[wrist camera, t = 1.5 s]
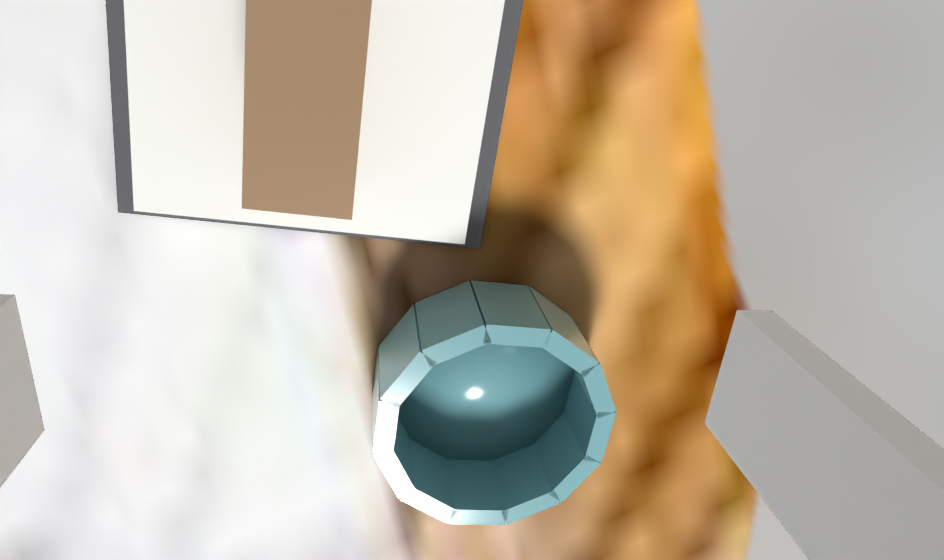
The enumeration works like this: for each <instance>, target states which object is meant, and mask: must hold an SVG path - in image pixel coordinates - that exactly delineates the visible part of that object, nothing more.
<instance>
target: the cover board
mask: <svg viewBox="0 0 944 560" xmlns="http://www.w3.org/2000/svg"><path fill="white" fill-rule="evenodd" d="M504 3H505V0H124V19H125V40H126V60H127V81H128V102H129V122H130V143H131V164H132V184H133V205H134V211H139V212H149V213H159V214H169V215H179V216H189V217H198V218H208V219H218V220H228V221H238V222H248V223H258V224H267V225H277V226H287V227H297V228H307V229H317V230H327V231H336V232H346V233H356V234H366V235H376V236H386V237H396V238H405V239H415V240H425V241H435V242H445V243H455V244H465V239H466V233H467V227H468V221H469V215H470V209H471V203H472V197H473V191H474V184H475V178H476V172H477V166H478V160H479V154H480V148H481V142H482V136H483V130H484V124H485V118H486V112H487V106H488V100H489V94H490V88H491V82H492V76H493V70H494V64H495V58H496V51H497V45H498V39H499V33H500V27H501V21H502V15H503V9H504Z"/></svg>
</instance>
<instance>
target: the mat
mask: <svg viewBox="0 0 944 560" xmlns="http://www.w3.org/2000/svg"><path fill="white" fill-rule="evenodd" d="M522 5H523V0H505V3H504V9H503V15H502V21H501V27H500V33H499V39H498V45H497V51H496V58H495V64H494V70H493V76H492V82H491V88H490V94H489V100H488V106H487V112H486V118H485V124H484V130H483V136H482V142H481V148H480V154H479V160H478V166H477V172H476V178H475V184H474V191H473V197H472V203H471V209H470V215H469V221H468V227H467V233H466V239H465V244H455V243H445V242H435V241H425V240H415V239H405V238H396V237H386V236H376V235H366V234H356V233H346V232H336V231H327V230H317V229H307V228H297V227H287V226H277V225H267V224H258V223H248V222H238V221H228V220H218V219H208V218H198V217H189V216H179V215H169V214H159V213H149V212H139V211H134V205H133V184H132V164H131V143H130V122H129V102H128V81H127V60H126V40H125V19H124V0H106V13H107V30H108V48H109V65H110V82H111V99H112V116H113V133H114V150H115V167H116V185H117V202H118V212H121V213H131V214H141V215H151V216H160V217H170V218H180V219H190V220H200V221H210V222H220V223H230V224H240V225H250V226H260V227H270V228H280V229H290V230H300V231H309V232H319V233H329V234H339V235H349V236H359V237H369V238H379V239H389V240H399V241H409V242H419V243H429V244H439V245H449V246H458V247H468V248H478V249H480V244H481V238H482V232H483V227H484V221H485V215H486V210H487V204H488V198H489V193H490V187H491V181H492V176H493V170H494V164H495V158H496V153H497V147H498V141H499V136H500V130H501V124H502V119H503V113H504V107H505V102H506V96H507V90H508V84H509V79H510V73H511V67H512V62H513V56H514V50H515V45H516V39H517V33H518V28H519V22H520V16H521V10H522Z"/></svg>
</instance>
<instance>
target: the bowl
mask: <svg viewBox="0 0 944 560" xmlns="http://www.w3.org/2000/svg"><path fill="white" fill-rule="evenodd" d="M615 416H616V409H615V406H614V403H613V400H612V397H611V394H610V391H609V388H608V385H607V382H606V379H605V376H604V373H603V370H602V367H601V365H600V363H599V361H598V359H597V358H596V356H595V355H594V353H593V351H592V350H591V348H590V346H589V345H588V343H587V342H586V340H585V338H584V337H583V335H582V334H581V332H580V330H579V329H578V327H577V326H576V324H575V322H574V321H573V319H572V317H571V316H570V315H569V314H567V313H566V312H565V311H563V310H562V309H560V308H559V307H558V306H556V305H555V304H553V303H552V302H551V301H549V300H548V299H547V298H545V297H544V296H542V295H541V294H540V293H538V292H537V291H535V290H534V289H533V288H531V287H530V286H529V287H528V286H527V285H518V284H507V283H496V282H485V281H474V280H471V284H470V282H469V281H467V282H464V283H462V284H459V285H457V286H454V287H452V288H450V289H447V290H445V291H442V292H440V293H437V294H435V295H432V296H430V297H428V298H425V299H423V300H420V301H418V302H415V305H414V304H413V305H412V306H411V307H410V309H409V310H408V311H407V312H406V313H405V315H404V316H403V317H402V318H401V319H400V321H399V322H398V323H397V324H396V326H395V327H394V328H393V329H392V330H391V332H390V333H389V334H388V335H387V336H386V338H385V339H384V340H383V341H382V343H381V344H380V345H379V348H378V352H377V361H376V369H375V378H374V386H373V395H372V446H373V457H374V458H375V460H376V462H377V463H378V465H379V467H380V468H381V470H382V472H383V474H384V475H385V477H386V479H387V480H388V482H389V484H390V486H391V487H392V489H393V491H394V492H395V494H396V496H397V497H398V499H399V498H400V500H401V501H403V502H405V503H407V504H409V505H411V506H413V507H415V508H417V509H419V510H421V511H423V512H425V513H427V514H429V515H431V516H433V517H435V518H437V519H439V520H441V521H442V522H444V523H446V524H447V523H449V524H476V525H505V524H506V523H507V524H510V523H512V522H515V521H517V520H520V519H522V518H525V517H527V516H530V515H532V514H535V513H537V512H540V511H542V510H545V509H547V508H550V507H552V506H555V505H557V504H560V501H561V502H563V501H564V500H565V499H566V498H567V497H568V496H569V495H570V494H571V493H572V492H573V491H574V490H575V489H576V488H577V487H578V486H579V485H580V484H581V483H582V482H583V481H584V480H585V479H586V478H587V477H588V476H589V475H590V474H591V473H592V472H593V471H594V470H595V469H596V468H597V467H598V466H599V465H600V464H601V462H602V460H603V456H604V453H605V450H606V446H607V443H608V439H609V436H610V433H611V429H612V426H613V423H614V419H615Z"/></svg>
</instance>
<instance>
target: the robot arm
mask: <svg viewBox="0 0 944 560" xmlns="http://www.w3.org/2000/svg"><path fill="white" fill-rule="evenodd" d="M705 424H706V426H707V427H708V428H709V430H710V431H711V432H712V434H713V435H714V436H715V438H716V439H717V440H718V441H719V443H720V444H721V445H722V447H723V448H724V449H725V451H726V452H727V453H728V455H729V456H730V457H731V458H732V460H733V461H734V462H735V464H736V465H737V466H738V468H739V469H740V470H741V472H742V473H743V474H744V476H745V477H746V478H747V479H748V481H749V482H750V483H751V485H752V486H753V487H754V489H755V490H756V491H757V493H758V494H759V495H760V496H761V498H762V499H763V500H764V502H765V503H766V504H767V506H768V507H769V508H770V510H771V511H772V512H773V513H774V515H775V516H776V517H777V519H778V520H779V521H780V523H781V524H782V525H783V527H784V528H785V529H786V531H787V532H788V533H789V534H790V536H791V537H792V538H793V540H794V541H795V542H796V544H797V545H798V546H799V548H800V549H801V550H802V552H803V553H804V554H805V555H806V557H807V558H808V559H809V560H944V449H943V448H942V447H941V446H940V445H938V444H937V443H936V442H935V441H934V440H932V439H931V438H930V437H929V436H927V435H926V434H925V433H924V432H922V431H921V430H920V429H919V428H917V427H916V426H915V425H914V424H912V423H911V422H910V421H909V420H907V419H906V418H905V417H904V416H902V415H901V414H900V413H898V412H897V411H896V410H895V409H894V408H892V407H891V406H890V405H889V404H887V403H886V402H885V401H884V400H882V399H881V398H880V397H879V396H877V395H876V394H875V393H874V392H872V391H871V390H870V389H869V388H867V387H866V386H865V385H864V384H863V383H861V382H860V381H859V380H857V379H856V378H855V377H854V376H853V375H851V374H850V373H849V372H847V371H846V370H845V369H844V368H842V367H841V366H840V365H839V364H838V363H836V362H835V361H834V360H832V359H831V358H830V357H829V356H828V355H826V354H825V353H824V352H823V351H821V350H820V349H819V348H818V347H816V346H815V345H814V344H813V343H811V342H810V341H809V340H808V339H806V338H805V337H804V336H803V335H801V334H800V333H799V332H798V331H796V330H795V329H794V328H793V327H791V326H790V325H789V324H788V323H787V322H785V321H784V320H783V319H781V318H780V317H779V316H778V315H777V314H775V313H774V312H773V311H760V310H759V311H758V310H737V312H736V315H735V319H734V322H733V326H732V329H731V333H730V336H729V340H728V343H727V347H726V350H725V354H724V357H723V361H722V364H721V368H720V371H719V374H718V378H717V381H716V385H715V388H714V392H713V395H712V399H711V402H710V406H709V409H708V413H707V416H706V420H705ZM43 431H44V426H43V421H42V416H41V412H40V407H39V403H38V398H37V394H36V389H35V385H34V380H33V375H32V371H31V366H30V362H29V357H28V353H27V348H26V344H25V339H24V334H23V330H22V325H21V321H20V316H19V312H18V307H17V303H16V298H15V295H3V294H0V487H1V486H2V485H3V483H4V482H5V481H6V480H7V478H8V477H9V476H10V474H11V473H12V472H13V470H14V469H15V468H16V466H17V465H18V464H19V462H20V461H21V460H22V459H23V457H24V456H25V455H26V453H27V452H28V451H29V449H30V448H31V447H32V445H33V444H34V443H35V441H36V440H37V439H38V438H39V436H40V435H41V434H42V432H43Z"/></svg>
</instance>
